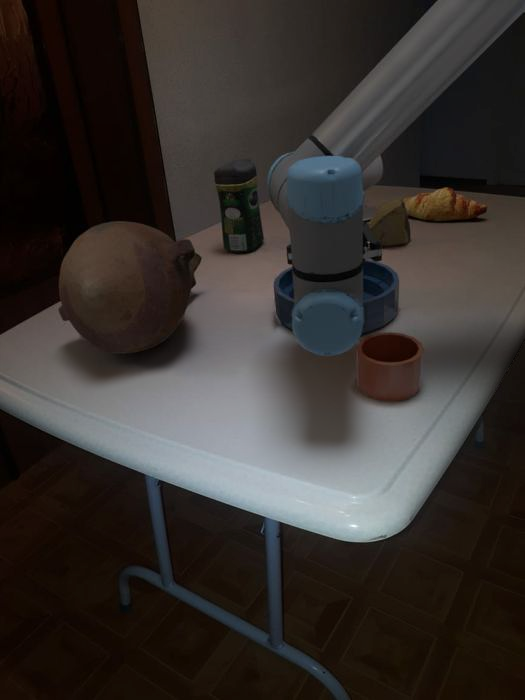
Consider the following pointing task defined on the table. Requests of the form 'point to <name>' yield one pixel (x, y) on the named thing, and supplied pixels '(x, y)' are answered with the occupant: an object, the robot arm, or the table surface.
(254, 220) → the coffee jar
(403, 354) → the crock
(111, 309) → the jug
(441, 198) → the croissant
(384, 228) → the rock
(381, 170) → the chalice
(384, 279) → the bowl
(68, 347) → the table surface
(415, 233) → the table surface
